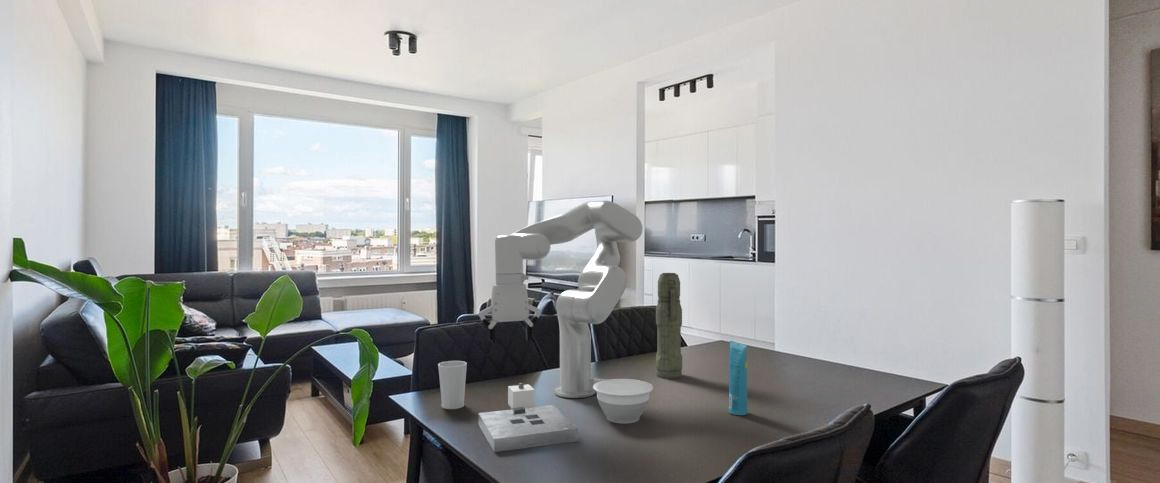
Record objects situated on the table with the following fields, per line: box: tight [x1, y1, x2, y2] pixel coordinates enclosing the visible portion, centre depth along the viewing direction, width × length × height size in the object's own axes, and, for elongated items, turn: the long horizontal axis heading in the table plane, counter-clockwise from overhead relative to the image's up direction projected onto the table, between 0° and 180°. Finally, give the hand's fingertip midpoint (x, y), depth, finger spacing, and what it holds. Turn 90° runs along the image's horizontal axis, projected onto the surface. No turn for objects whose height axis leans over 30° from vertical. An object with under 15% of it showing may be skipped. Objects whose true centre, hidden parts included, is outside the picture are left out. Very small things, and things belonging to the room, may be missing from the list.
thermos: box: [655, 272, 683, 380], centre depth 201 cm, size 9×12×35 cm
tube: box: [728, 339, 748, 416], centre depth 160 cm, size 7×5×19 cm, turn 26°
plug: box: [507, 382, 536, 410], centre depth 163 cm, size 6×6×8 cm
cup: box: [437, 360, 468, 410], centre depth 168 cm, size 8×8×12 cm
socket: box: [478, 404, 579, 453], centre depth 146 cm, size 20×20×4 cm
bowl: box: [593, 378, 654, 424], centre depth 157 cm, size 16×16×8 cm
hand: (510, 341), depth 163 cm, fingers open, 9 cm apart
